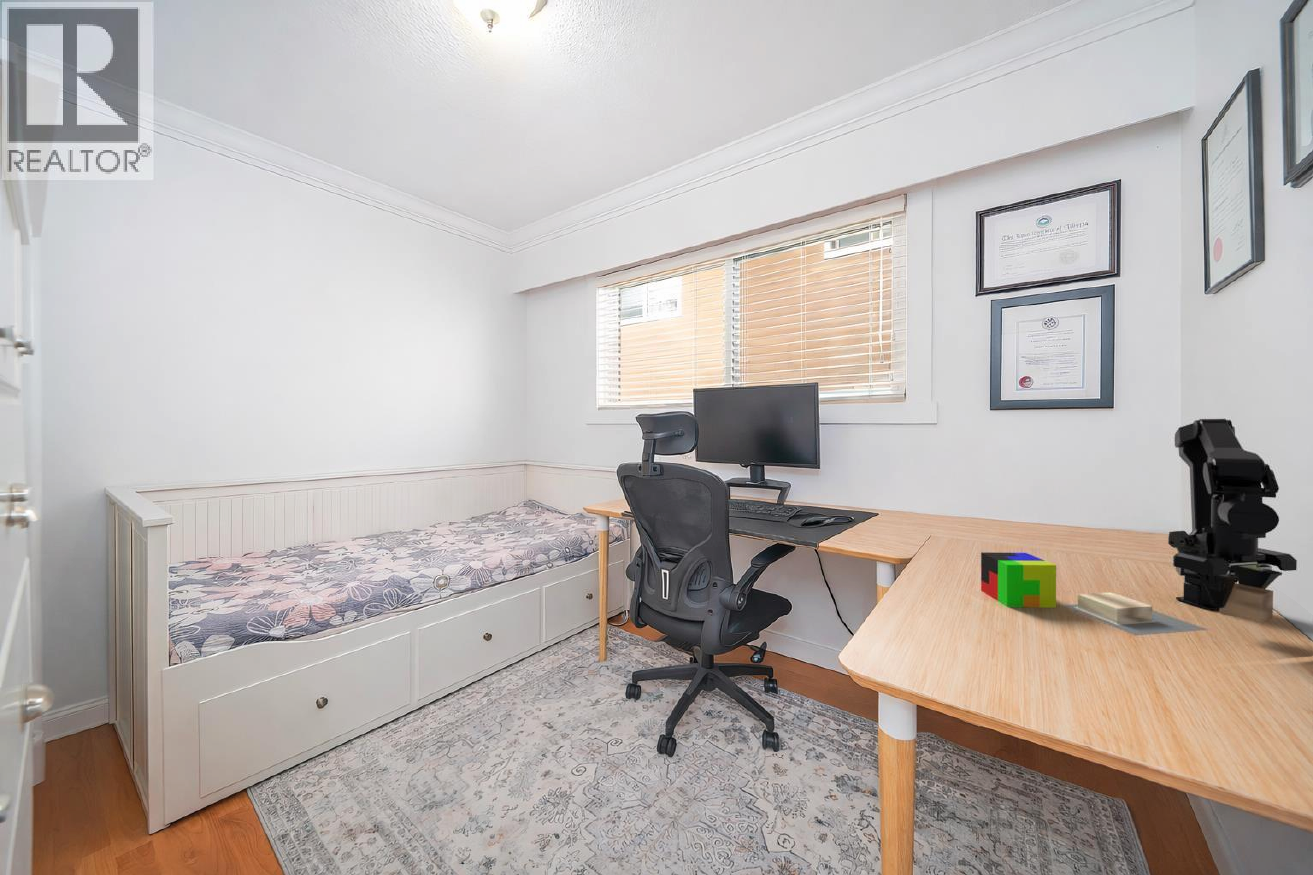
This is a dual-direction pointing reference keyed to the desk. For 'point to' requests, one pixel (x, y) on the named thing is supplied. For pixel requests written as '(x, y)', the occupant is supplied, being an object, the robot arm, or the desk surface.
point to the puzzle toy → (1018, 579)
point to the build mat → (1146, 623)
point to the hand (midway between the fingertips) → (1232, 606)
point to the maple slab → (1115, 607)
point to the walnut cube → (1249, 603)
